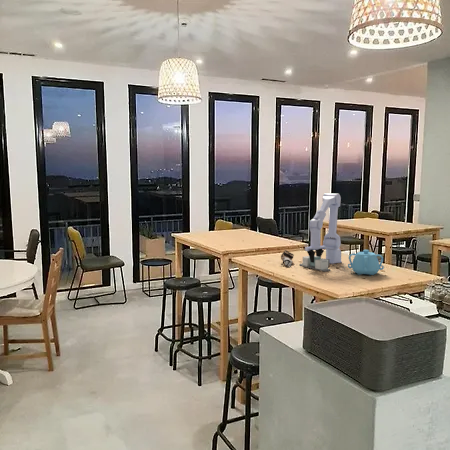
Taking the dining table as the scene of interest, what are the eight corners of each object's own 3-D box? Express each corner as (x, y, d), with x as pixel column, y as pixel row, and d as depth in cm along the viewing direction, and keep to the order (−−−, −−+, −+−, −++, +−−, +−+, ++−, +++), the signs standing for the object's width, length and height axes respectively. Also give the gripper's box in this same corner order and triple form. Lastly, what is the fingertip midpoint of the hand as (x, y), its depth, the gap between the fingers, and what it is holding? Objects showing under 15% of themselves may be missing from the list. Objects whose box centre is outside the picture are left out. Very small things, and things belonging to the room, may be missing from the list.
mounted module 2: (322, 267, 272) (323, 258, 271) (328, 268, 268) (328, 259, 267) (315, 268, 269) (315, 259, 268) (320, 269, 265) (320, 261, 264)
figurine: (284, 257, 276) (283, 247, 290) (277, 267, 279) (276, 257, 293) (297, 264, 277) (295, 254, 291) (290, 274, 280) (289, 264, 294)
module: (315, 264, 276) (315, 255, 275) (320, 266, 272) (320, 256, 271) (310, 265, 274) (310, 255, 273) (315, 266, 270) (315, 257, 269)
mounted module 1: (310, 263, 282) (310, 255, 281) (315, 265, 278) (315, 256, 277) (302, 264, 279) (302, 256, 278) (307, 266, 275) (307, 257, 274)
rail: (305, 264, 284) (305, 262, 284) (330, 270, 265) (330, 269, 265) (299, 265, 282) (299, 263, 282) (323, 271, 263) (323, 270, 263)
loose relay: (322, 264, 285) (322, 258, 284) (329, 265, 281) (329, 259, 281) (318, 265, 281) (318, 259, 281) (325, 266, 278) (325, 260, 277)
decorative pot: (386, 275, 254) (387, 251, 252) (362, 277, 248) (363, 253, 247) (367, 269, 269) (368, 246, 268) (344, 271, 263) (345, 248, 262)
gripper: (310, 241, 264) (310, 264, 266) (329, 239, 271) (328, 261, 273) (302, 239, 270) (302, 262, 272) (321, 237, 278) (320, 259, 279)
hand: (315, 261), depth 273 cm, fingers closed on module, 4 cm apart
